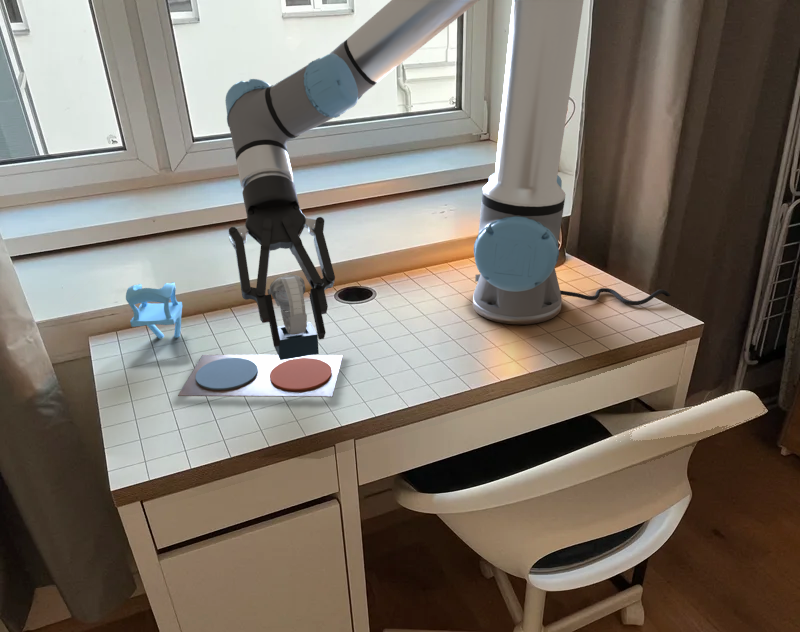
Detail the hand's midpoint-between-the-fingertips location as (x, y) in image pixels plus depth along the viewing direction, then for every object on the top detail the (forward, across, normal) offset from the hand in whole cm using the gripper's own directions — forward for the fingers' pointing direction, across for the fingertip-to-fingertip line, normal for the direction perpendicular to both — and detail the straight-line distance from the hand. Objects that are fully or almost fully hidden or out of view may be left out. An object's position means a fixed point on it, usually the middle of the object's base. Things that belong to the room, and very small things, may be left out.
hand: (299, 339), depth 96 cm
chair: (-8, +19, -21) cm, 29 cm away
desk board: (+2, +5, -10) cm, 12 cm away
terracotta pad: (+3, 0, -8) cm, 8 cm away
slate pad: (0, +10, -11) cm, 15 cm away
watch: (0, 0, -5) cm, 5 cm away
